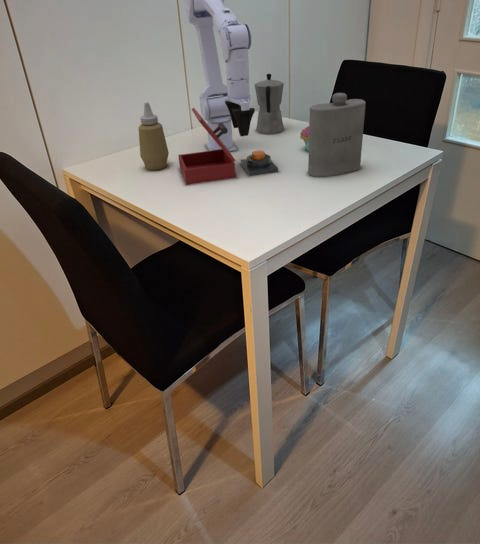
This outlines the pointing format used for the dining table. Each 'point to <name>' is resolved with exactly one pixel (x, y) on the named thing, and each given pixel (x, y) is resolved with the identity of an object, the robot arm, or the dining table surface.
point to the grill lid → (213, 133)
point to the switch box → (258, 165)
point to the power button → (258, 155)
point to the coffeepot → (269, 106)
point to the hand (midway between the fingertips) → (240, 131)
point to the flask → (336, 136)
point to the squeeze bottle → (152, 141)
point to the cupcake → (305, 137)
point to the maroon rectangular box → (206, 166)
